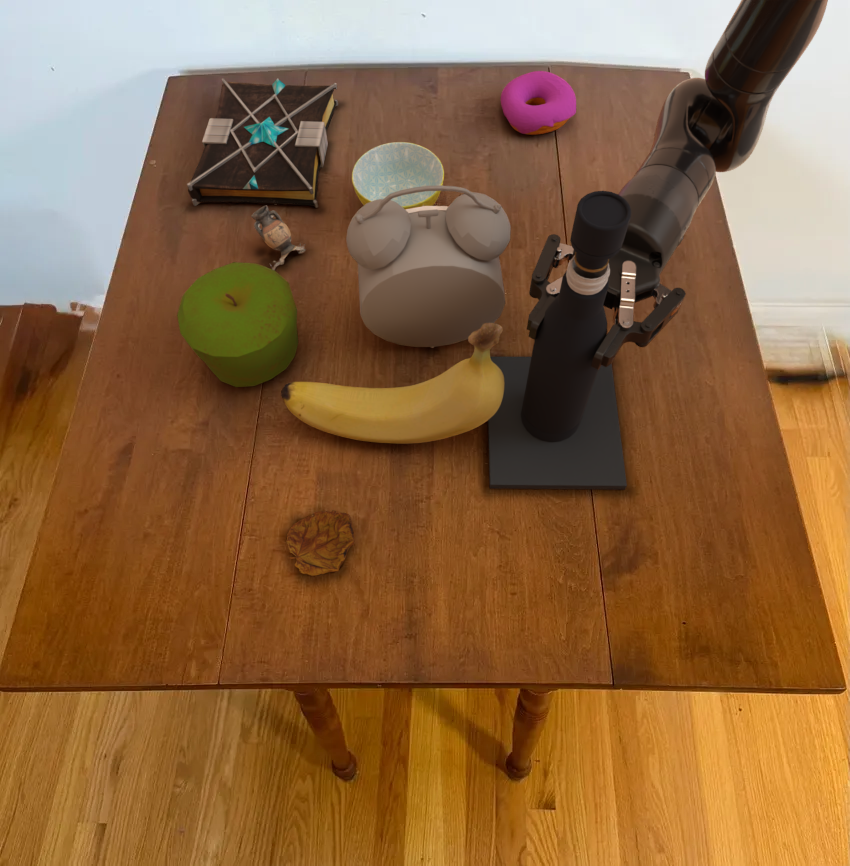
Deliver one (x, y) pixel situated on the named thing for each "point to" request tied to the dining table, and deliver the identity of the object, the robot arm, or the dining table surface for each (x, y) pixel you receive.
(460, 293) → the alarm clock
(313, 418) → the banana
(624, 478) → the mat
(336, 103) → the book
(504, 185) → the dining table surface
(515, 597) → the dining table surface
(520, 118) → the donut
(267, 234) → the vase
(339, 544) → the leaf
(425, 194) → the bowl
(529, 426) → the insulated water bottle
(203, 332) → the apple
